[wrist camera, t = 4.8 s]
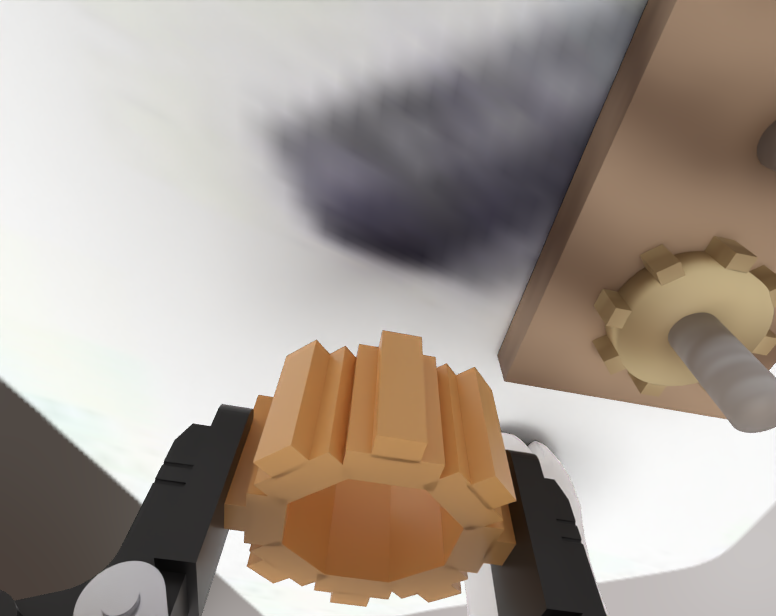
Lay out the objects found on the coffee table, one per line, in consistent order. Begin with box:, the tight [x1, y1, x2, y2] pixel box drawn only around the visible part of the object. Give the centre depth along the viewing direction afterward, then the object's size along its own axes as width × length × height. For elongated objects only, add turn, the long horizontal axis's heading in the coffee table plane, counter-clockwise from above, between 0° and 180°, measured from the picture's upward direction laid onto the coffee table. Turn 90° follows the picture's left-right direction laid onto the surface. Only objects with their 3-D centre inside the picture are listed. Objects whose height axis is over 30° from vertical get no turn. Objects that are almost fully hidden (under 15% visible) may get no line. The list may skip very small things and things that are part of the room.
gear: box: [224, 330, 516, 607], centre depth 11 cm, size 6×6×3 cm
